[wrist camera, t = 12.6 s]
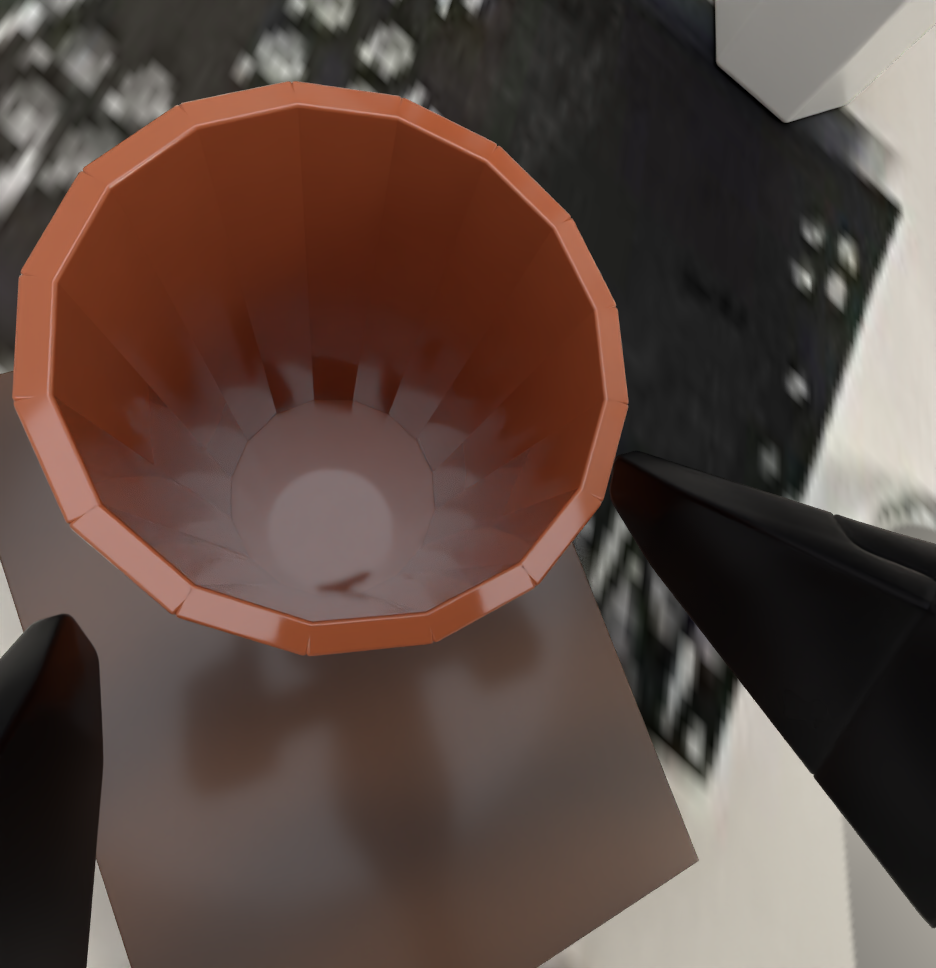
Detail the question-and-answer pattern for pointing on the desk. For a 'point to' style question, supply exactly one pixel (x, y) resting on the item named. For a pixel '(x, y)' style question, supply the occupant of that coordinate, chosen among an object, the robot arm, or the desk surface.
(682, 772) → the desk surface
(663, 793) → the board
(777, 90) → the jar
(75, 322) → the pen cup
